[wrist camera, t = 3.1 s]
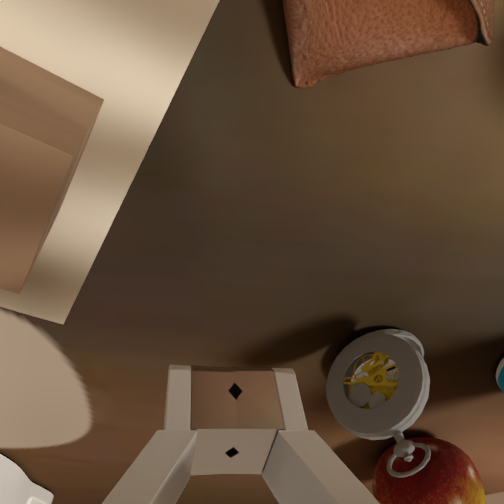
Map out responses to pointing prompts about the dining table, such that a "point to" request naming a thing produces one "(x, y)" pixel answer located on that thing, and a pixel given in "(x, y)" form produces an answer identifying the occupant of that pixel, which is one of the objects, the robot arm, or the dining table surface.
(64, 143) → the walnut block
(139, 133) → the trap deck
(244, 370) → the robot arm
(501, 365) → the blue labeled canister
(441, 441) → the fruit
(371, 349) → the pocket watch
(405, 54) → the sunglasses case
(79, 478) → the dining table surface
